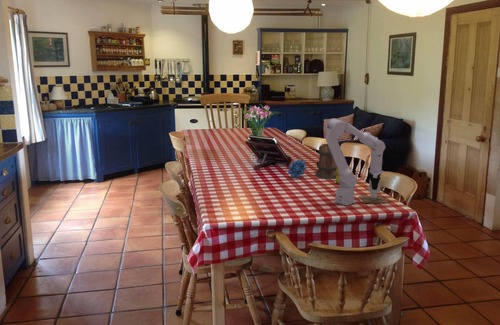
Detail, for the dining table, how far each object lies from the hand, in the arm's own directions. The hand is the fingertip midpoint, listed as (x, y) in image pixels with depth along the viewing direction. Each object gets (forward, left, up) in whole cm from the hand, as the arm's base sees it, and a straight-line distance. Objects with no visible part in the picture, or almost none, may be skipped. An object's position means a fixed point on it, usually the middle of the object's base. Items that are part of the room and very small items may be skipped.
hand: (374, 188), depth 238 cm
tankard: (+25, +50, -7) cm, 57 cm away
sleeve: (0, 0, -1) cm, 1 cm away
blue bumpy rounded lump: (+6, +58, -7) cm, 59 cm away
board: (0, 0, -7) cm, 7 cm away
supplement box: (+15, +30, -7) cm, 34 cm away
